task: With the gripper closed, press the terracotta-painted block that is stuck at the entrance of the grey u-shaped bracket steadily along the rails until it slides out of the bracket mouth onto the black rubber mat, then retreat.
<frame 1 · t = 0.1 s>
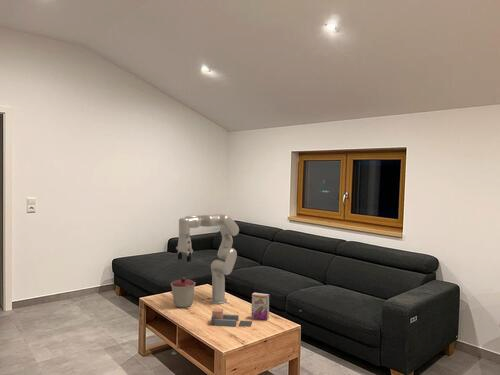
hand: (184, 260, 271), 37 cm above the table, tool pointing down, fingers open, 9 cm apart
candy bar box: (260, 318, 263), on the table
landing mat: (245, 323, 254), on the table
jammed block: (217, 315, 256), point 4 cm above the table, slide at 0.0 cm
grey u-shaped bracket: (225, 322, 255), on the table
canister: (183, 305, 288), on the table
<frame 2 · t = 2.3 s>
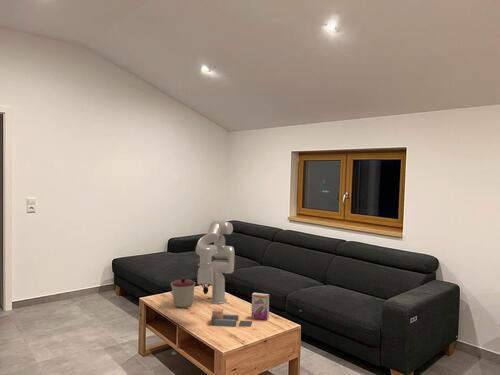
hand: (205, 293, 256), 19 cm above the table, tool pointing down, fingers closed
nothing on the table moved.
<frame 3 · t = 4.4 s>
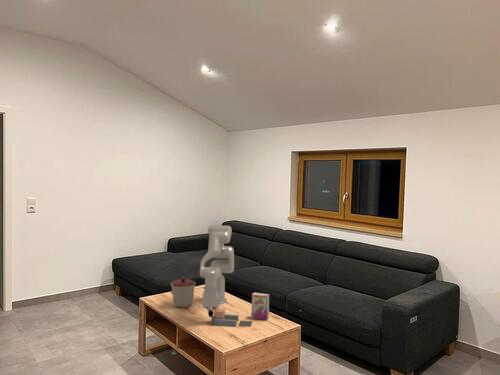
hand: (210, 316, 256), 4 cm above the table, tool pointing down, fingers closed
jammed block: (219, 315, 256), point 4 cm above the table, slide at 1.2 cm, touching gripper
everything else where it was.
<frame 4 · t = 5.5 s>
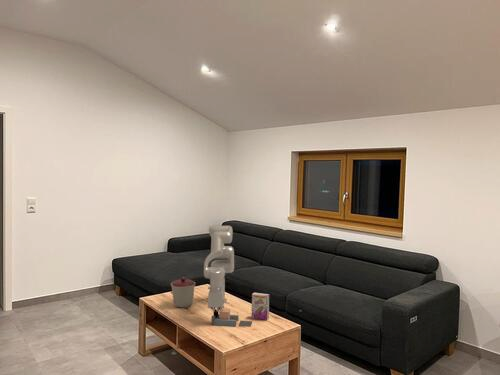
hand: (215, 316, 256), 4 cm above the table, tool pointing down, fingers closed
jammed block: (224, 316, 255), point 4 cm above the table, slide at 4.7 cm, touching gripper
everything else where it was.
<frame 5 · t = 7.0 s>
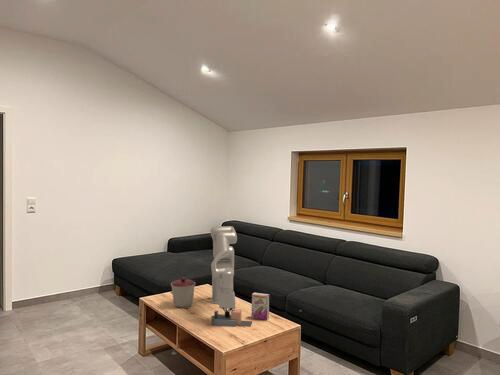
hand: (227, 317, 255), 4 cm above the table, tool pointing down, fingers closed
jammed block: (236, 316, 254), point 4 cm above the table, slide at 12.3 cm, touching gripper
everything else where it was.
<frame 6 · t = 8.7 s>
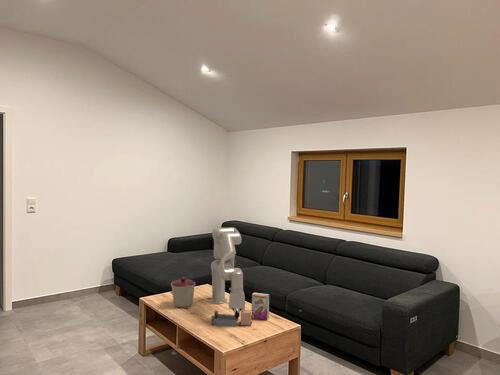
hand: (237, 317, 254), 4 cm above the table, tool pointing down, fingers closed
jammed block: (245, 317, 253), point 4 cm above the table, slide at 18.7 cm, touching gripper
everything else where it was.
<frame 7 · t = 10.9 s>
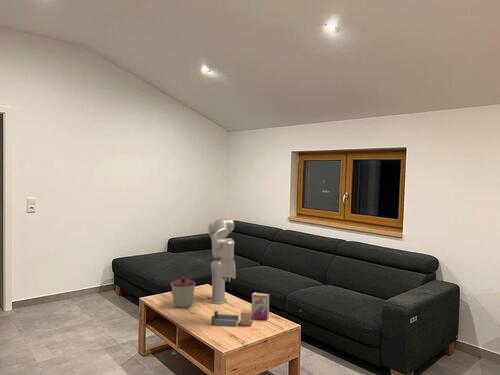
hand: (227, 286, 258), 23 cm above the table, tool pointing down, fingers closed
jammed block: (245, 317, 253), point 4 cm above the table, slide at 18.8 cm
everything else where it was.
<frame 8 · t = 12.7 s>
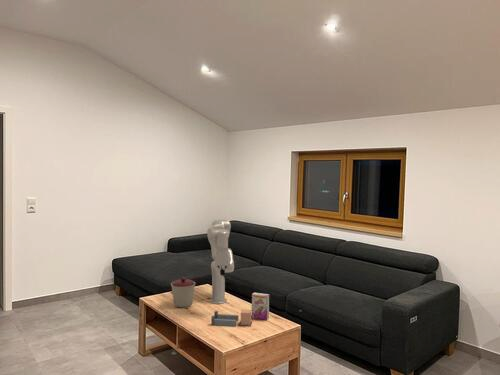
hand: (222, 275, 271), 27 cm above the table, tool pointing down, fingers closed
nothing on the table moved.
at the end: jammed block slide at 18.8 cm; the gripper is holding nothing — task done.
